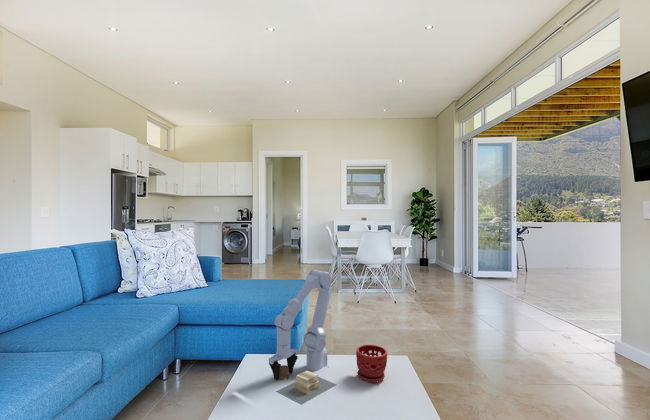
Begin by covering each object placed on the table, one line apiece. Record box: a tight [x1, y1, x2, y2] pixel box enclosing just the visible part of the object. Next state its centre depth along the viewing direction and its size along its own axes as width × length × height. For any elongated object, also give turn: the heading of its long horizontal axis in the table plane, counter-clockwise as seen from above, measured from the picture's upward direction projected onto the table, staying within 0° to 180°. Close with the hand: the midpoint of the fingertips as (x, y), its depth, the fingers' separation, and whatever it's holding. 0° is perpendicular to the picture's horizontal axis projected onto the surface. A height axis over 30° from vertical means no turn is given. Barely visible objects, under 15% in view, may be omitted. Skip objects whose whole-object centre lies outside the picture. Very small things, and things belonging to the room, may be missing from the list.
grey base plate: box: [275, 376, 337, 405], centre depth 133 cm, size 20×14×1 cm
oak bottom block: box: [294, 381, 320, 394], centre depth 133 cm, size 7×7×2 cm
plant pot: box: [355, 344, 388, 384], centre depth 144 cm, size 13×13×12 cm
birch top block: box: [296, 370, 319, 387], centre depth 133 cm, size 6×6×2 cm
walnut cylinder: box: [279, 364, 290, 380], centre depth 142 cm, size 4×4×5 cm
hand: (283, 376), depth 142 cm, fingers open, 7 cm apart
